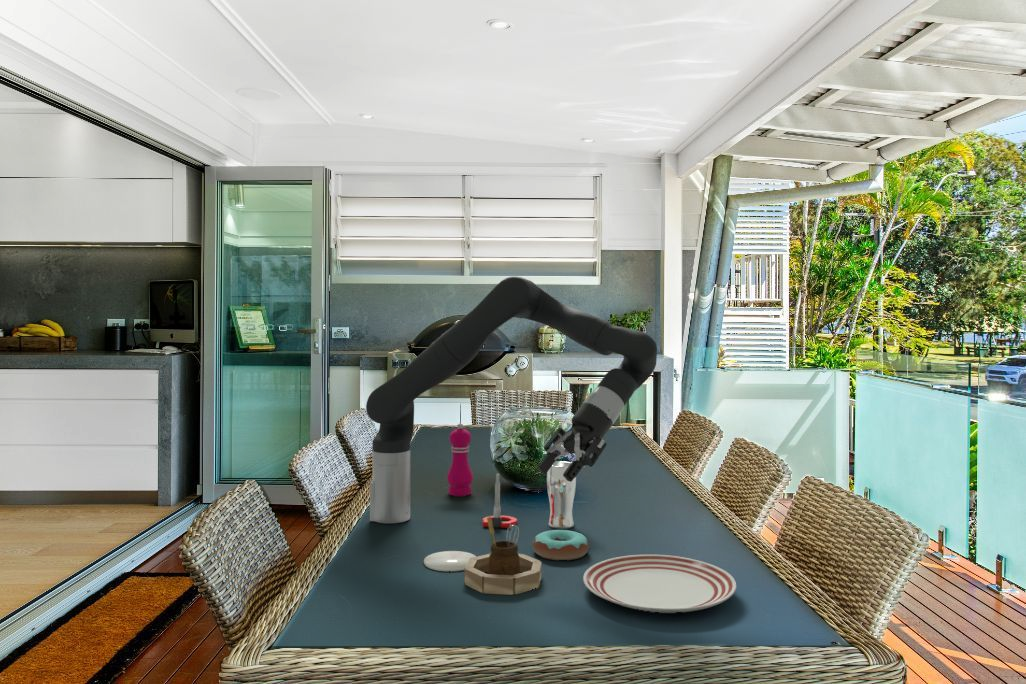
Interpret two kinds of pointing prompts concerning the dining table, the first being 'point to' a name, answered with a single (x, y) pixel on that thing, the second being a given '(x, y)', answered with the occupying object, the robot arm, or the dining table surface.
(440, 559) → the coaster
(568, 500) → the beer glass
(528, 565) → the oak ring
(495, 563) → the utensil holder
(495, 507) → the tow hook
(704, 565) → the dinner plate
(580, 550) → the donut
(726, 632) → the dining table surface
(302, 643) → the dining table surface
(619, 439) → the dining table surface
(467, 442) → the pepper mill
